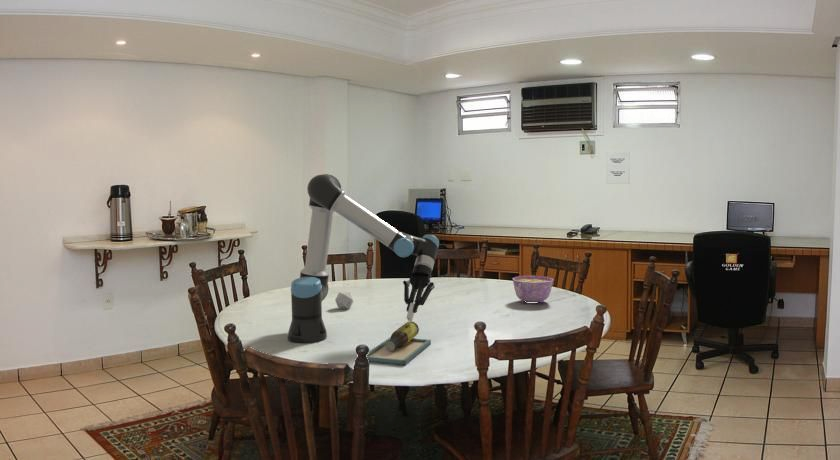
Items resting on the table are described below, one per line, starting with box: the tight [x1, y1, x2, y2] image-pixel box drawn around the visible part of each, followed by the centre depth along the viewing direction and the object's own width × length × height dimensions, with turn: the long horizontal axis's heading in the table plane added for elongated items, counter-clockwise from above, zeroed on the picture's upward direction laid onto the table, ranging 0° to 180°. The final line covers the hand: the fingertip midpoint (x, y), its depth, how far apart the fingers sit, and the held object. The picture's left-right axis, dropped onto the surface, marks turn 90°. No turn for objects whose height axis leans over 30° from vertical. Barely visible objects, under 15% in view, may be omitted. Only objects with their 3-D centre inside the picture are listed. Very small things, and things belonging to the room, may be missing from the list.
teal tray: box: [367, 336, 432, 367], centre depth 234 cm, size 28×16×2 cm, turn 161°
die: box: [334, 291, 354, 310], centre depth 308 cm, size 8×9×10 cm
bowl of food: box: [512, 275, 554, 303], centre depth 320 cm, size 20×20×12 cm
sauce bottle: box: [385, 320, 420, 351], centre depth 240 cm, size 6×6×20 cm
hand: (409, 319), depth 245 cm, fingers closed
